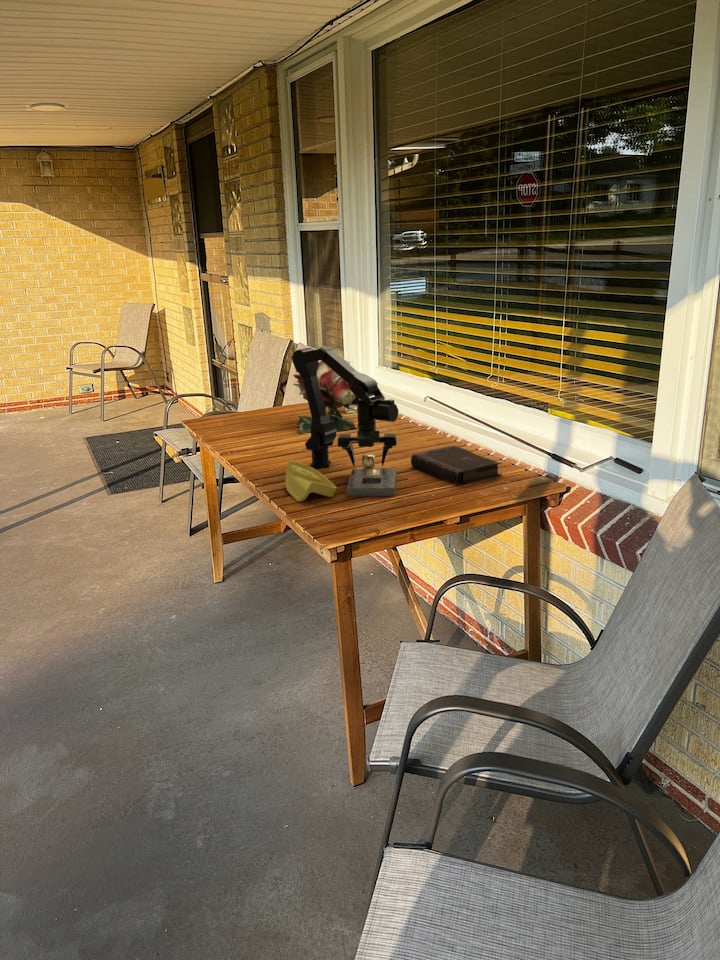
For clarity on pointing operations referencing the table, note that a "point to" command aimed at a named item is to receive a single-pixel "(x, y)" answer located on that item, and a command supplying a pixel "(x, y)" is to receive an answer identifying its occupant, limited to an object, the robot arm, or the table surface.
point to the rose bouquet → (328, 398)
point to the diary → (456, 465)
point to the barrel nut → (368, 461)
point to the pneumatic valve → (350, 409)
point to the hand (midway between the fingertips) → (368, 465)
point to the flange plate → (372, 482)
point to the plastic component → (306, 481)
